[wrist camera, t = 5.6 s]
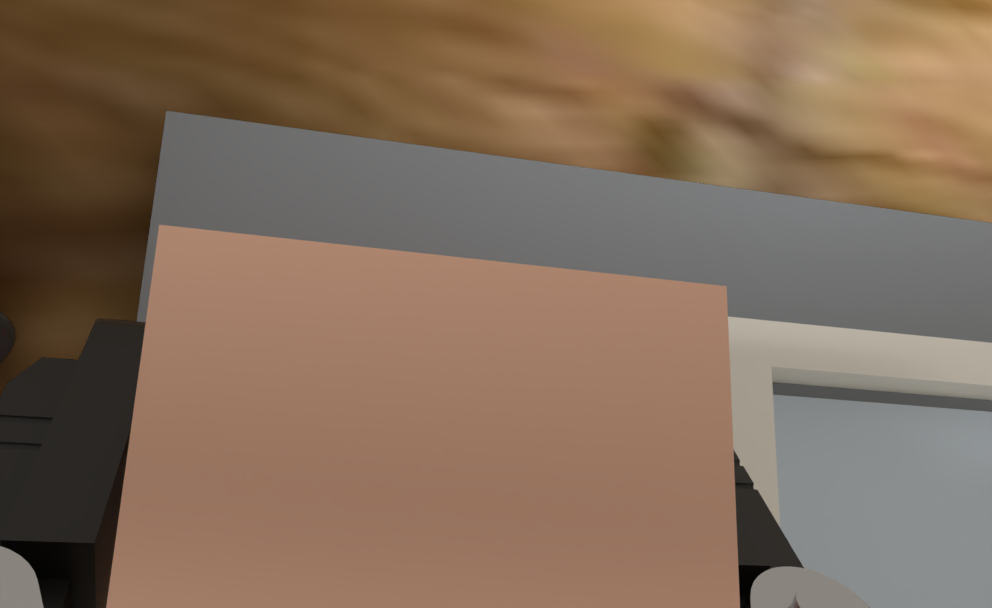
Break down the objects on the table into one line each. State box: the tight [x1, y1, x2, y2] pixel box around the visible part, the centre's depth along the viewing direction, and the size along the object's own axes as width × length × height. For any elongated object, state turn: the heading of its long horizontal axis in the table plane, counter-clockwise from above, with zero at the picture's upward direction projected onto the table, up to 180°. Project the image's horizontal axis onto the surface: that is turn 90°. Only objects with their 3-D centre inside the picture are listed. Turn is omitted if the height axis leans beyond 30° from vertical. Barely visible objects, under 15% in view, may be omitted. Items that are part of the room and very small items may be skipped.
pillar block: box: [106, 225, 740, 608], centre depth 10 cm, size 4×4×8 cm
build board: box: [137, 111, 992, 608], centre depth 15 cm, size 18×14×2 cm
